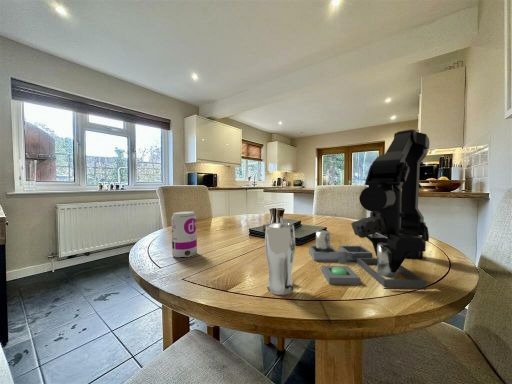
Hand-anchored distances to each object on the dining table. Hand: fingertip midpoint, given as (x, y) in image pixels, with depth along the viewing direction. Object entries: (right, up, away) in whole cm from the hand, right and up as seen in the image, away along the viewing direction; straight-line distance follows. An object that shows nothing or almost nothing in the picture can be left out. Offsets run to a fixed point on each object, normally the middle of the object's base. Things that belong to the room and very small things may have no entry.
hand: (386, 267), depth 54 cm
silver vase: (-28, -3, -5) cm, 29 cm away
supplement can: (-59, -3, +20) cm, 62 cm away
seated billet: (-12, -1, +13) cm, 18 cm away
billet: (0, -2, 0) cm, 2 cm away
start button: (-13, -2, -2) cm, 13 cm away
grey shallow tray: (-7, -2, +13) cm, 15 cm away
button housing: (-13, -3, -2) cm, 13 cm away
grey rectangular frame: (0, -3, 0) cm, 2 cm away
